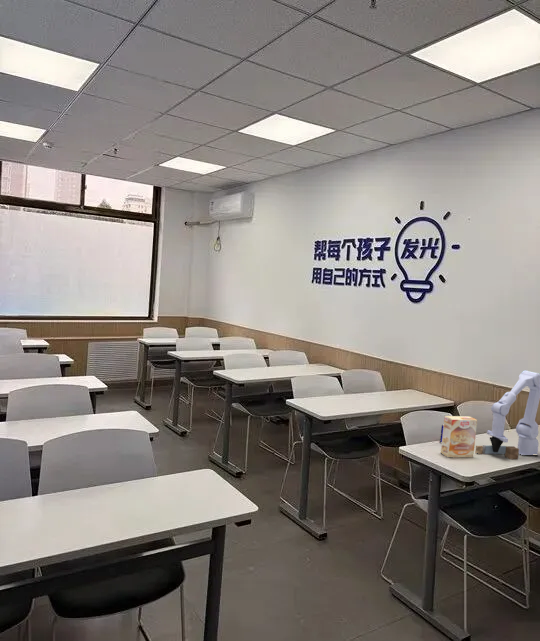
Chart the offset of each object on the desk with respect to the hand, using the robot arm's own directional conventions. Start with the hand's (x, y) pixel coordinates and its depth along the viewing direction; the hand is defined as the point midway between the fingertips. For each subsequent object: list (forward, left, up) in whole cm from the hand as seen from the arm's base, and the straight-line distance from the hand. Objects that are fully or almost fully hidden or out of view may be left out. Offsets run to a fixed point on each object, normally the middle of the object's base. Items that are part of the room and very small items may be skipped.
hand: (495, 451), depth 267 cm
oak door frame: (0, -2, -2) cm, 3 cm away
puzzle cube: (+13, -20, -2) cm, 24 cm away
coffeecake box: (+22, +1, -2) cm, 22 cm away
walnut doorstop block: (-7, +4, -2) cm, 8 cm away
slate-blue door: (-1, -2, -2) cm, 3 cm away
